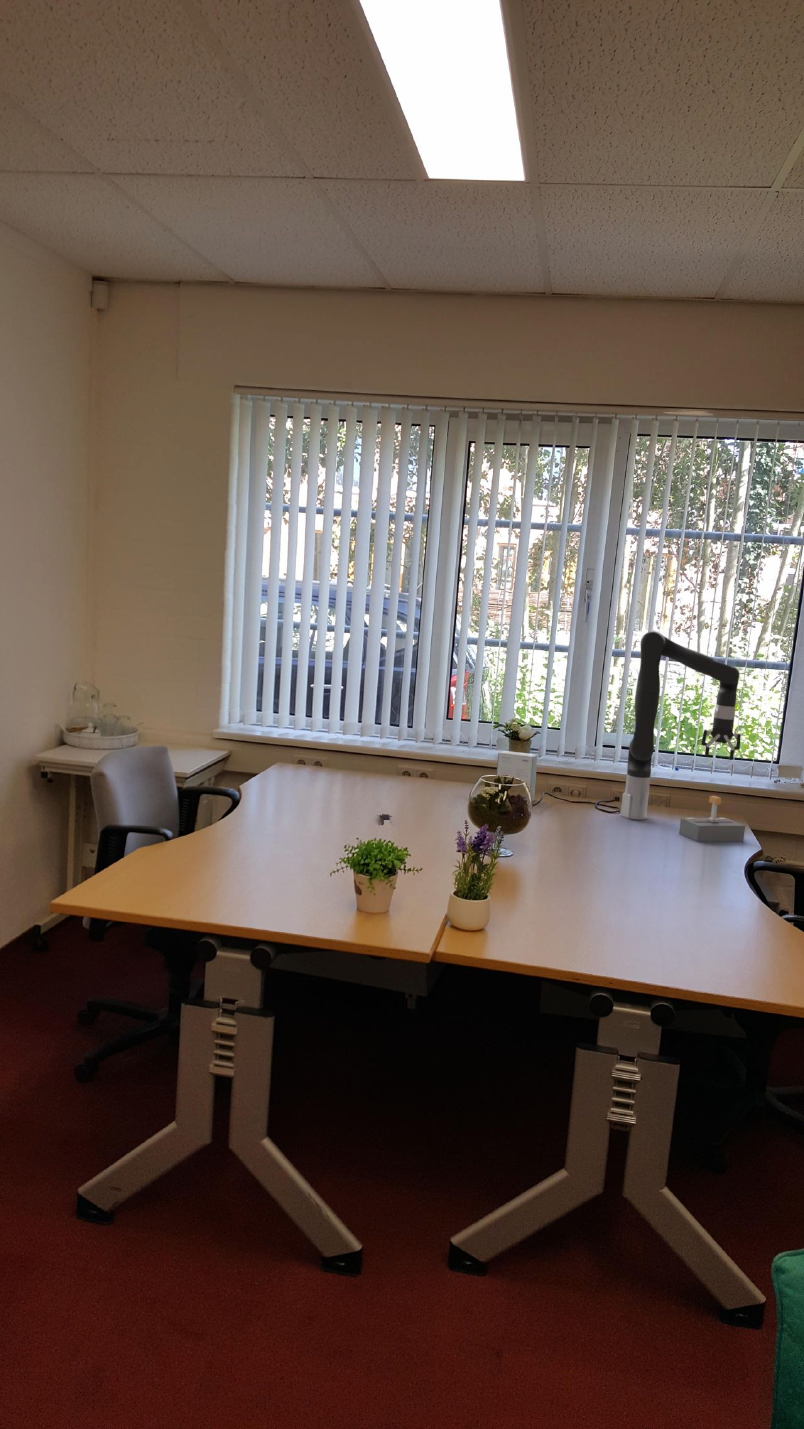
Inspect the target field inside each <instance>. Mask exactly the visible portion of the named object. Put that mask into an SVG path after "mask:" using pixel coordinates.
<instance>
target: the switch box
mask: <svg viewBox="0 0 804 1429" xmlns="http://www.w3.org/2000/svg"><path fill="white" fill-rule="evenodd" d="M707 818H708V817H681V818H680V823H679V831H678V832H679V834H680V835H681V836H682V835H683V836H685V837H686V838H688V839H690V840H693V841H695V842H698V843H699V842H700V843H701V842H704V843H705V842H710V843H711V842H712V843H713V842H715V843H716V842H717V843H718V842H722V843H723V842H744V840H745V839H744V838H745V830H746V825H744V824H742V823H740V822H737V821H734V820H732V819H729V818H727V817H716V819H718V820H719V822H710V821H707Z"/></svg>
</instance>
